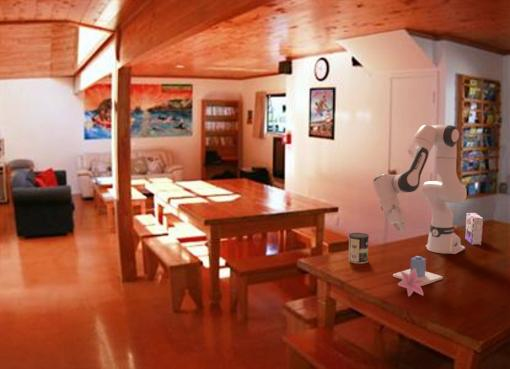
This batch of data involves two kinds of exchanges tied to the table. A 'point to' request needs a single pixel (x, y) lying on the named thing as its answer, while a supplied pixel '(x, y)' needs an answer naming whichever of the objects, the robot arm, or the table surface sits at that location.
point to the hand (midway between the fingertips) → (401, 231)
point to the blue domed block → (418, 265)
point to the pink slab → (427, 278)
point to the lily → (411, 282)
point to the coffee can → (358, 248)
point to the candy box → (474, 228)
